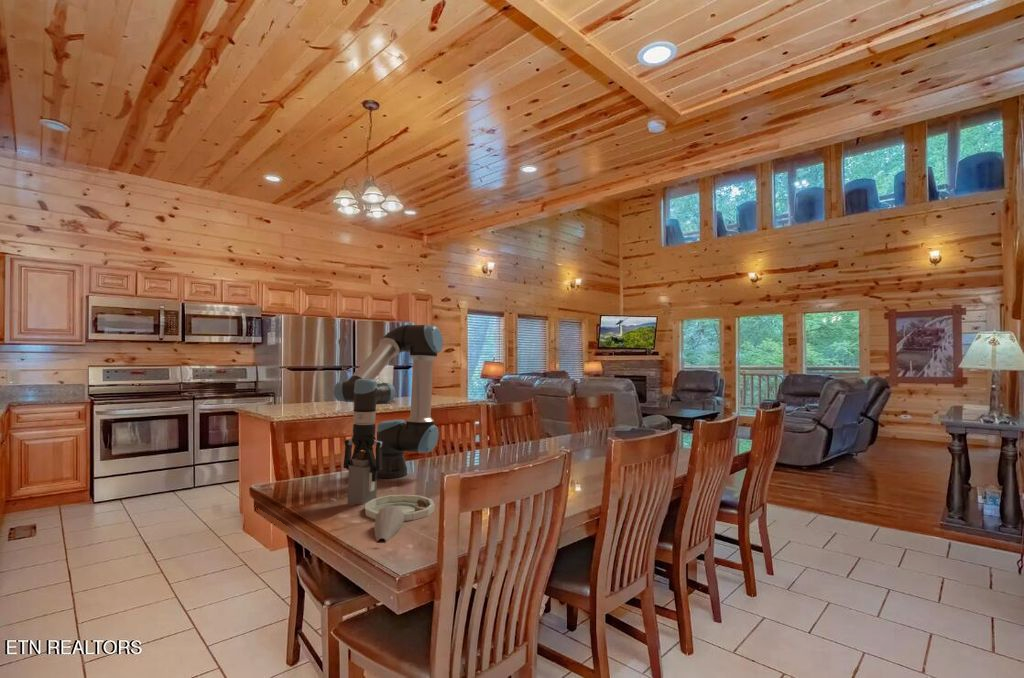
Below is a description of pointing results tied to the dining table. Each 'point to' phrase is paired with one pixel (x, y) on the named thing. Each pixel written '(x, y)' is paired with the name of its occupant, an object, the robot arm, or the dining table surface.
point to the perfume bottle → (360, 481)
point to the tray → (400, 506)
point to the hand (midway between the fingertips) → (362, 489)
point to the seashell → (388, 522)
